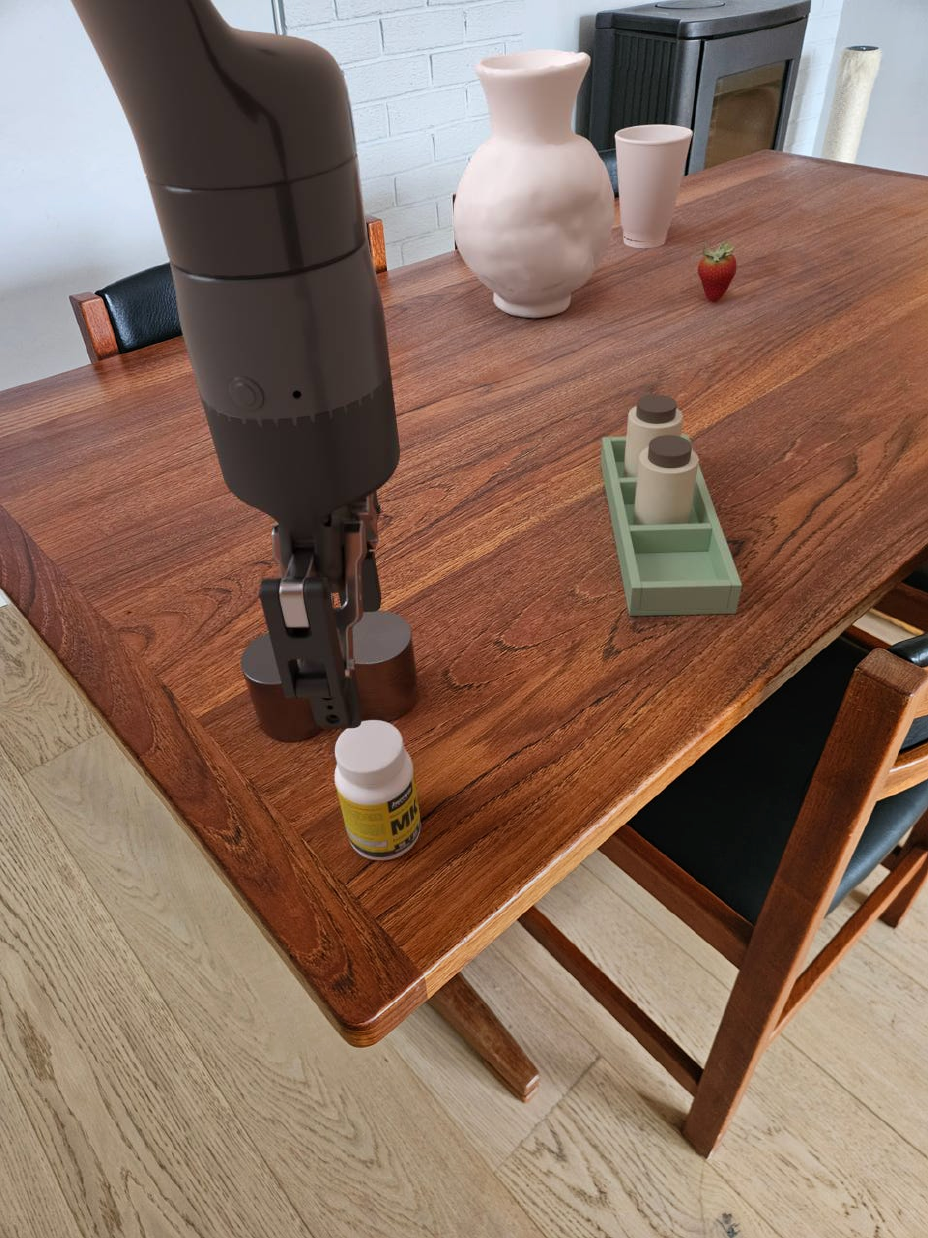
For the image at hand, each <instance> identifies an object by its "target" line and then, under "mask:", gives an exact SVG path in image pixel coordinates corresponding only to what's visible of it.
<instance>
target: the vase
mask: <svg viewBox="0 0 928 1238" xmlns="http://www.w3.org/2000/svg"><path fill="white" fill-rule="evenodd" d="M590 65H591V56H590V55H589V54H588V53H586V52H584V51H580V52H575V51H562V50H559V49H549V48H541V49H533V50H524V51H519V52H509V53H506V54H499V55H493V56H489V57H484V58H481V59H480V60H479V61H478V62H477V63H476V64H475V72H476V73H475V74H476V75H477V77H478V79H479V82H480V85H481V87H482V90H483V92H484V95H485V99H486V102H487V110H488V115H489V123H490V127H491V128H490V129H491V135H490V137H489V138H487V139H486V140H485V141H484V142H482V143H481V145H479V147H478V148H476V150H475V151H474V152H473V154H472V155H471V159H470V160H469V161H468V164H467V165H466V167H465V169H464V171H463V173H462V176H461V178H460V180H459V183H458V185H457V190H456V194H455V199H454V202H453V211H452V212H453V215H452V228H453V233H454V234H453V235H454V236H453V237H454V240H455V244H456V247H457V251H458V252H459V254H460V255H461V258H462V260H463V262H464V263H465V266H467V268H469V270H470V271H471V273H472V274H473V275H474V276H476V278H477V280H478V281H480V282H481V284H482V285H484V286H485V287H486V288H487V289H488V290H489V291H491V292H493V296H492V297H493V299H492V302H493V304H494V305H495V307H496V308H498V309H499V310H500V311H502V312H503V313H506V314H508V315H510V316H514V317H520V318H529V319H540V318H547V317H551V316H555V315H558V314H560V313H564V312H565V311H566V310H567V309H568V308H569V307H570V304H571V300H572V293H574V292H575V291H576V290H579V289H581V288H582V287H583V286H584V285H585V284H586V283H587V282H588V281H589V280H590V279H591V278H592V276H593V275H594V274H595V272H596V270H597V268H598V266H599V264H600V263H601V261H602V260H603V258H604V257H605V253H606V250H607V248H608V245H609V242H610V240H611V238H612V232H613V225H614V220H615V193H614V189H613V186H612V182H611V178H610V174H609V170H608V169H607V166H606V164H605V162H604V161H603V159H602V158H601V157H600V155H599V153H598V151H597V150H596V148H595V146H594V145H593V143H592V142H591V141H590V140H588V139H587V138H586V137H584V136H582V135H579V134H577V133H576V132H575V131H574V130H573V128H572V121H573V113H574V107H575V104H576V100H577V97H578V94H579V91H580V88H581V85H582V83H583V81H584V78H585V77H586V74H587V72H588V70H589V68H590Z"/></svg>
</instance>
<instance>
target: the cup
mask: <svg viewBox="0 0 928 1238" xmlns="http://www.w3.org/2000/svg"><path fill="white" fill-rule="evenodd" d="M693 134H694V132H693V130H692V129H690V128H688V127H685V126H682V125H681V126H680V125H672V124H643V125H635V126H630V127H625V128H622V129H620V130H617V131H616V132H615V134H614V140H615V155H616V169H617V185H618V186H617V187H618V200H619V215H620V227H621V228H622V234H623V235H622V236H623V237H622V238H623V239H622V240H623V244H624V245H625V246H626V247H627V246H628V247H630V248H634V249H654V248H658V247H662V246H663V245H665V244H666V242H667V235H668V232H669V228H670V227H671V226H672V222H673V218H674V214H675V210H676V205H677V201H678V197H679V193H680V192H679V191H680V187H681V184H682V179H683V175H684V171H685V167H686V162H687V158H688V154H689V149H690V145H691V141H692V137H693ZM624 236H625V237H626V238H629V239H632V240H637V241H638V240H639V241H651V240H658V239H661V238H664V237H665V236H666V238H664V239H662V240H659V241H654V242H635V241H630V240H627V239H626V238H624Z"/></svg>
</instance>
